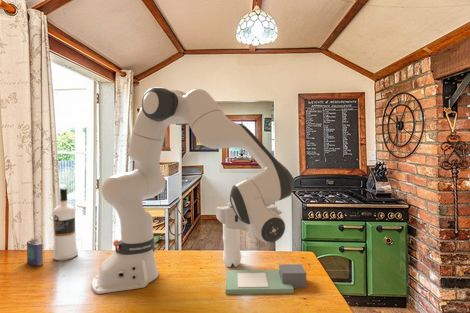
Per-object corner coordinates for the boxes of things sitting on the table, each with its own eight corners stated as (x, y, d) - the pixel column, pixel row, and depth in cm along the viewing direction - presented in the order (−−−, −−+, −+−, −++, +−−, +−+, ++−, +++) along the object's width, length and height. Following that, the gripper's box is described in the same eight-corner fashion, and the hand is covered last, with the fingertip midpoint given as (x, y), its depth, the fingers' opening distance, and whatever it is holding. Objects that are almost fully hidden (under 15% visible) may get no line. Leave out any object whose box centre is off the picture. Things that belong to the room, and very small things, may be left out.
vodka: (82, 255, 127) (80, 187, 126) (60, 262, 119) (57, 190, 118) (70, 251, 132) (68, 186, 131) (48, 258, 124) (46, 189, 123)
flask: (44, 264, 118) (43, 238, 117) (36, 267, 115) (35, 241, 115) (32, 260, 122) (31, 235, 122) (24, 262, 120) (23, 237, 119)
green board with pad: (225, 294, 93) (225, 278, 93) (226, 274, 107) (226, 261, 107) (309, 293, 93) (309, 277, 93) (299, 273, 107) (299, 260, 107)
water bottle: (239, 269, 112) (238, 205, 111) (221, 267, 113) (220, 204, 112) (242, 261, 119) (241, 201, 118) (225, 260, 120) (224, 201, 119)
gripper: (283, 203, 93) (267, 196, 106) (221, 208, 87) (212, 199, 100) (283, 223, 93) (267, 213, 106) (222, 229, 87) (212, 217, 100)
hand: (240, 206), depth 103 cm, fingers open, 8 cm apart
